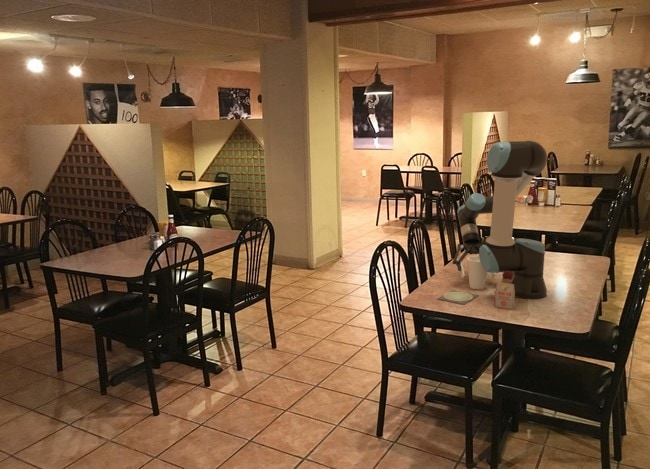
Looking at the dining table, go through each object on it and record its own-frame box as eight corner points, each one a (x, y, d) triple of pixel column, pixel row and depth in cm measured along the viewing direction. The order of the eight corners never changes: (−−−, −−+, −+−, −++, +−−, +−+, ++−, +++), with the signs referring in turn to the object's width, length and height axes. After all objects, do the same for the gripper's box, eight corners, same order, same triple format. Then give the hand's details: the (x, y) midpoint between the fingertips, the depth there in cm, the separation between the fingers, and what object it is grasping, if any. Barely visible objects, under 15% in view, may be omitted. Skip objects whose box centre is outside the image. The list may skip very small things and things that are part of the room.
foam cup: (464, 289, 249) (465, 260, 247) (467, 283, 258) (468, 255, 255) (486, 291, 246) (488, 262, 243) (489, 285, 254) (490, 257, 252)
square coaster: (478, 296, 240) (479, 294, 240) (463, 304, 229) (463, 303, 229) (453, 291, 247) (453, 289, 247) (437, 299, 237) (437, 297, 237)
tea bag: (497, 304, 229) (498, 280, 227) (514, 307, 225) (515, 283, 223) (494, 307, 226) (495, 283, 224) (511, 310, 222) (512, 285, 220)
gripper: (495, 239, 264) (504, 279, 252) (441, 241, 263) (448, 281, 252) (499, 230, 257) (509, 271, 246) (444, 232, 257) (451, 273, 246)
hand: (478, 276), depth 249 cm, fingers open, 13 cm apart
